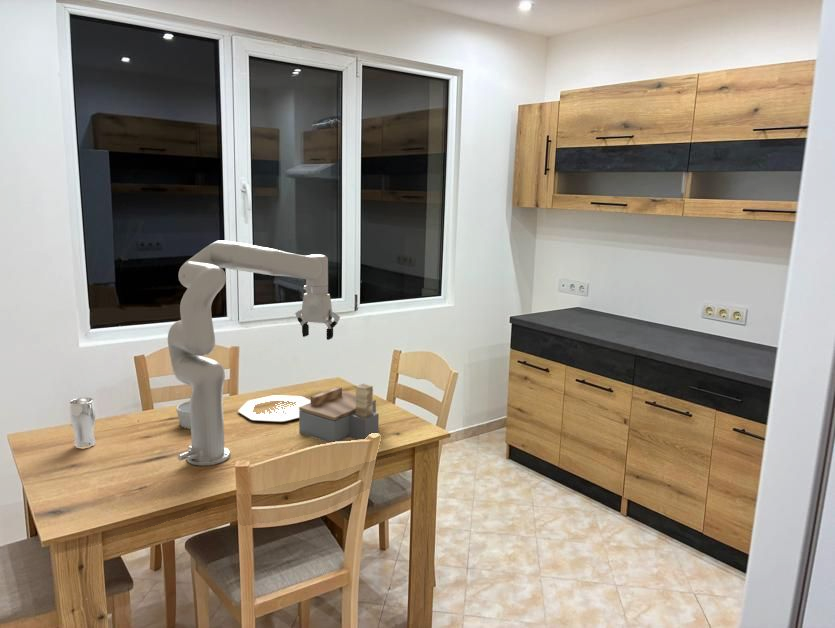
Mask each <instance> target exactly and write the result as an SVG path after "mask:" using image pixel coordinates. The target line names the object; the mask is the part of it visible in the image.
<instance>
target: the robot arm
mask: <svg viewBox="0 0 835 628" xmlns="http://www.w3.org/2000/svg"><path fill="white" fill-rule="evenodd" d="M328 262H329V259H328V256H326V255H325V254H318V253H317V254H316V253H315V254H309V255H302V254H297V253H292V252H287V251H284V250H280V249H279V250H278V249H275V248H270V247H265V246H259V245H255V244H254V245H253V244H249V243H243V242H237V241H231V240H216V241H214V242H212V243H210V244H209V245H207V246H205V247H204V248H203V249H202V250H200V251H199V252H197V253H196V254H194V255H193V256H192V257H190V258H189V259H187V260H186V261H185V262H184V263H183V264H182V265H181V266H180V268H179V271H178V281H179V282H180V284H181V285H182V286H183V287H185V288H186V290H185V292H184V293H183V296H182V298H181V300H180V305H179V314H180V319H179V320H177V321H176V322H174V323H173V324H172V325H171V326H170V327H169V330H168V333H167V346H168V351H169V357H170V364H171V368H172V372H173V375H174V376H175V379H176V380H178V381H180V382H181V383H183V384H184V385H185V384H186V385H188V386H191V387H192V392H191V395H190V399H189V401H190V421H191V429H190V435H191V436H190V437H191V438H190V439H191V442H190V443H191V444H190V445H189V446H188V450H186V452H182V453H179V454H178V455H177V460H178V461H179V462H181V461H184V460H186V461H187V463H189V464H191V465H194V466H200V467H203V466H204V467H205V466H206V465H207V466H213V465H218V464H221V463H223V462H225V461H227V460H228V459H229V458H230V457H231V452H230V449H229V448H227V447H225V425H224V407H223V406H224V403H223V402H224V401H223V400H224V399H223V397H224V395H223V394H224V386H225V380H226V379H225V378H226V373H225V369H224V367H223V366H222V365H221V363H220V362H219V361H217V360H215V359H213V358H210V357H206V356H208V355H210V354H211V353H212V352H213V351H214V349H215V346H216V338H215V337H216V336H215V330H214V322H213V317H212V304H213V301H214V299H215V298H216V297H217V294H218V293H219V292H220V291H221V290H222V289H223V288H224V286H225V284H226V280H227V276H226V273H225V270H224V269H228V270H233V271H239V272H247V273H254V274H261V275H269V276H277V277H278V276H280V277H290V278H296V279H303V280H305V285H303V290H305V293H303V297H302V305H301V309H300V310H298V311H296V312H295V316H296V318H297V321H298V322H299V324H300V326H301V333H302V337H303V338H305V337H309V335H310V326H309V324H308V323H315V324H325V325H326V327H327V328H326V340H327V341H329V340H332V339H333V337H334V328H335V327H336V325H337V324H338V323H339V321H340V319H341V316H339V315H338V314H336V313H335V312H334V311H333V308H332V299H331V295H330V293H329V263H328ZM332 320H333V321H332Z"/></svg>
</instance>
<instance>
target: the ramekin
mask: <svg viewBox="0 0 835 628" xmlns="http://www.w3.org/2000/svg"><path fill="white" fill-rule="evenodd" d="M176 414H177V416H178V417H177V418H178V420H179V424H180V426H181V427H182V428H183V427H184V428H183V429H186V428H187V429H186V430H191V421H190V400H186V401H184V402H181V403H179V404H178V405H177V406H176Z"/></svg>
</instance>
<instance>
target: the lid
mask: <svg viewBox="0 0 835 628" xmlns="http://www.w3.org/2000/svg"><path fill="white" fill-rule="evenodd" d="M310 400H311V403H309V404H306V405H304V406H301V407H299V410H301V411H304V412H308V413H311V414H314V415H317V416H321V417H324V418H327V419H331V420H334V421H335V420H337V419H339V418H342V417H344V416H346V415H349V414H351V413H353V412H356V393H355V394H354V393H350V392H347V391H343V387H341V386H335V387H333V388H330V389H328V390H325V391H322V392H320V393H316V394H315V395H311V396H310ZM374 403H376V404H377V400H376V399H374V398H373V404H374Z"/></svg>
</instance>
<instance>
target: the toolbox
mask: <svg viewBox="0 0 835 628" xmlns="http://www.w3.org/2000/svg"><path fill="white" fill-rule="evenodd" d="M379 414H380V413H377V402H376V403H374V404H373V407H372V415H371V416H369V417H367V418H363V417H359V416H356V412H353V413H351V414H349V415H346V416H344V417H342V418H339V419H337V420H335V421H334V420H331V419H327V418H324V417H321V416H317V415H314V414H311V413H308V412H304V411H301V410H300V411H299V419H298V420H299V421H298V422H299V434H301V433H302V435H304V434H306V435H305V436H307V435H309V436H308V437H310V436H311V438H313V437H314V439H316V438H317V440H319V439H320V441H323V442H326V443H329V442H335V441H341V442H343V441H344V440H346V439H353V440H356V441H358V440H357V439H365V438H366V437H367V436H368V435H369V434H371V433H378V434H379V418H380V416H379Z"/></svg>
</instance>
